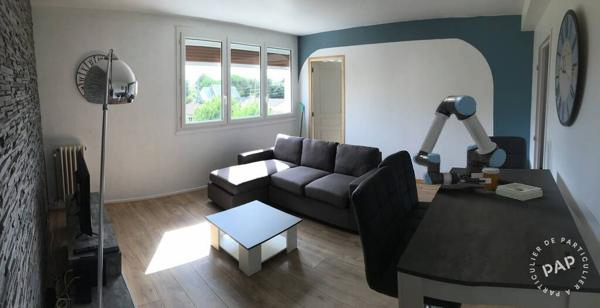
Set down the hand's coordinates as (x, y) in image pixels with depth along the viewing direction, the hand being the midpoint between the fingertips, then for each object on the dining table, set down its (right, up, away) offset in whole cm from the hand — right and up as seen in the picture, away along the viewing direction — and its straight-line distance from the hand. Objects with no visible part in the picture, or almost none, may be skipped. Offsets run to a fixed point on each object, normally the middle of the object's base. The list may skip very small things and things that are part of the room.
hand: (486, 178), depth 212 cm
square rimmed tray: (+10, -8, -15) cm, 20 cm away
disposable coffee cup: (+3, -6, +1) cm, 7 cm away
